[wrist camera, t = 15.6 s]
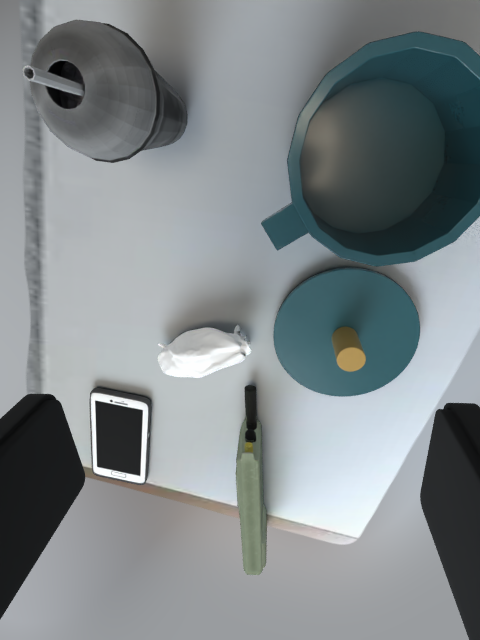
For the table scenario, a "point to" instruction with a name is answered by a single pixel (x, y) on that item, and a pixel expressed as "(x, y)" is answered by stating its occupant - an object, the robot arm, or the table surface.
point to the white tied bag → (203, 352)
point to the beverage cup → (102, 92)
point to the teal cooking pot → (387, 153)
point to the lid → (346, 332)
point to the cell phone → (120, 435)
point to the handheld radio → (251, 488)
